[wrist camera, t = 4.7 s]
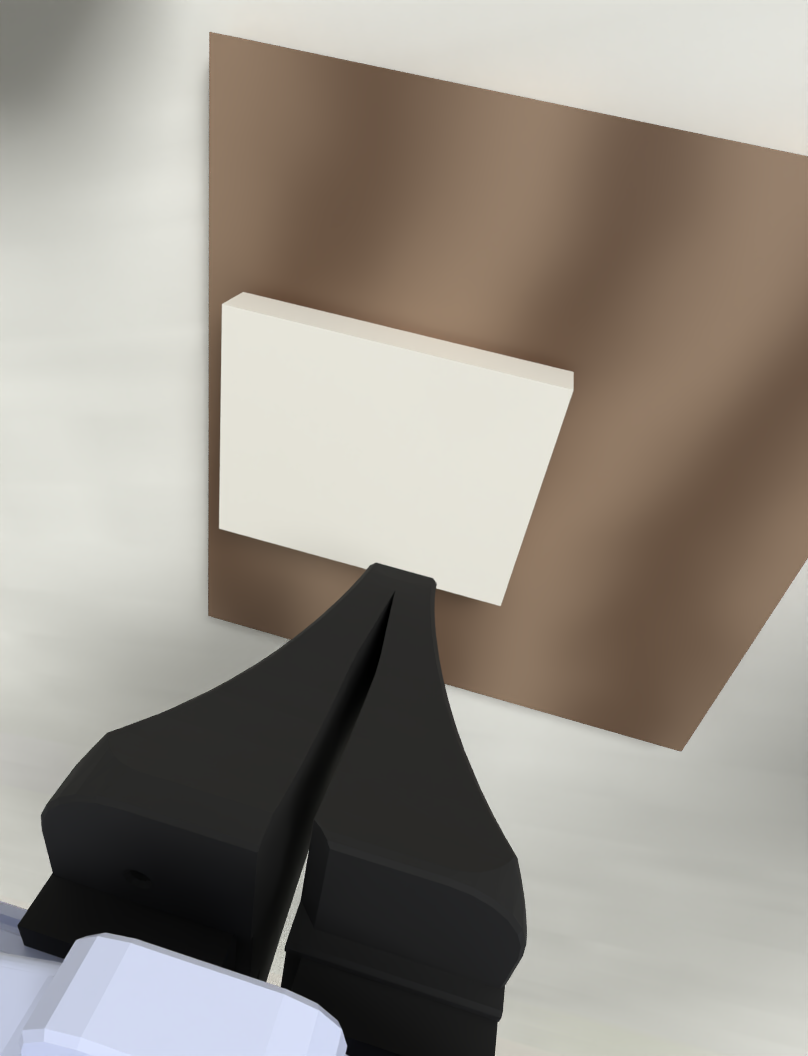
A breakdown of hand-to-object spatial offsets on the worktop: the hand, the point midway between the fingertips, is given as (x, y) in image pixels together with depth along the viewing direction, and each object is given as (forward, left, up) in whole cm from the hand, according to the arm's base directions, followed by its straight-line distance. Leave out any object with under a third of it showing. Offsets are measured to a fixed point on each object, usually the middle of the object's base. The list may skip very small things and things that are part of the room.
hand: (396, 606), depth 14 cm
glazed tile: (-3, 0, -6) cm, 7 cm away
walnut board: (-2, 0, -8) cm, 8 cm away
